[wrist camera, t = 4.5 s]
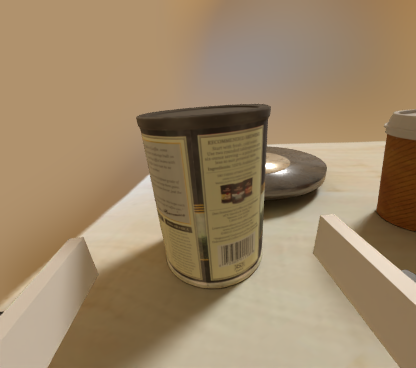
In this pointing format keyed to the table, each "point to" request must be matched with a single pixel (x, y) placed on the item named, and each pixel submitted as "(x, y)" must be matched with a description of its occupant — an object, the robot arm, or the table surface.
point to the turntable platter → (291, 173)
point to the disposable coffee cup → (399, 171)
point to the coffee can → (209, 188)
